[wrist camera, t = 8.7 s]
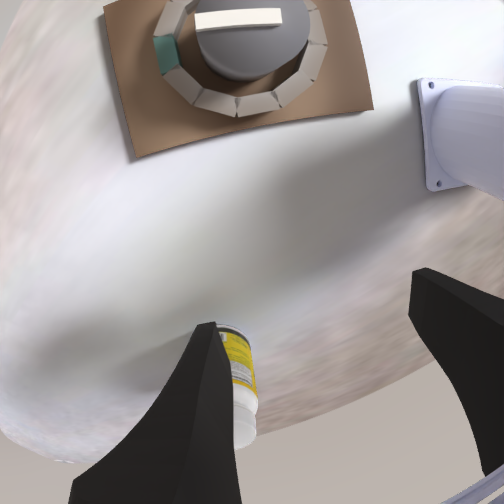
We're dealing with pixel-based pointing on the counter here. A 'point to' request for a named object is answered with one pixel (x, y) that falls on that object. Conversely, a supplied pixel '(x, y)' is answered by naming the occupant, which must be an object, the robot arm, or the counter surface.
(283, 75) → the hub plate
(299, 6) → the knob
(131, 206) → the counter surface
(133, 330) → the counter surface
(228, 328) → the supplement bottle
